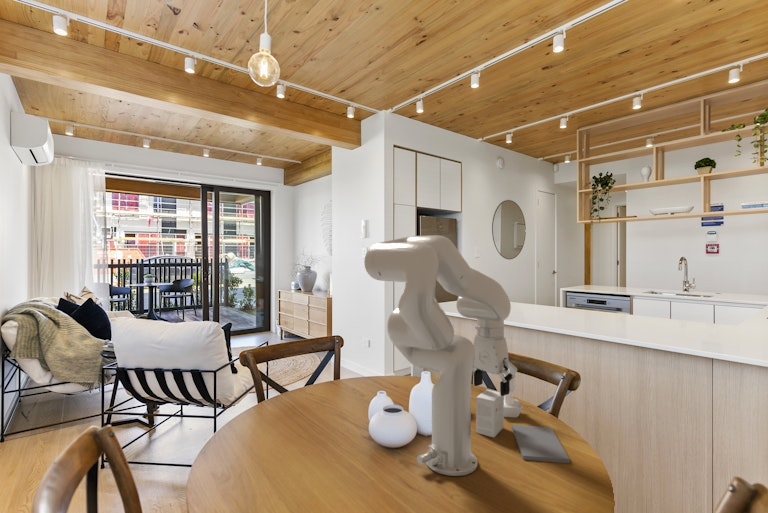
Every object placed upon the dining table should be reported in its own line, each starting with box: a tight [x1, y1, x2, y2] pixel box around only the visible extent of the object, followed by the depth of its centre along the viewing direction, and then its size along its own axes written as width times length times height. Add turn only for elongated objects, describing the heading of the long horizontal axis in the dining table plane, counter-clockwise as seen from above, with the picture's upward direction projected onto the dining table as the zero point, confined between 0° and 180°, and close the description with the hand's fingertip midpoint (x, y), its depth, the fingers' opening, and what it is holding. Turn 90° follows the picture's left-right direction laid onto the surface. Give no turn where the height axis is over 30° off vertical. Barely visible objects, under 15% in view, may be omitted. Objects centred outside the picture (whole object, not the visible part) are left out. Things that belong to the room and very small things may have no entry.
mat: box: [511, 424, 571, 464], centre depth 106 cm, size 18×11×1 cm, turn 171°
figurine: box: [504, 369, 524, 418], centre depth 126 cm, size 7×9×15 cm
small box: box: [475, 389, 505, 438], centre depth 114 cm, size 8×6×10 cm
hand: (491, 389), depth 115 cm, fingers open, 9 cm apart
